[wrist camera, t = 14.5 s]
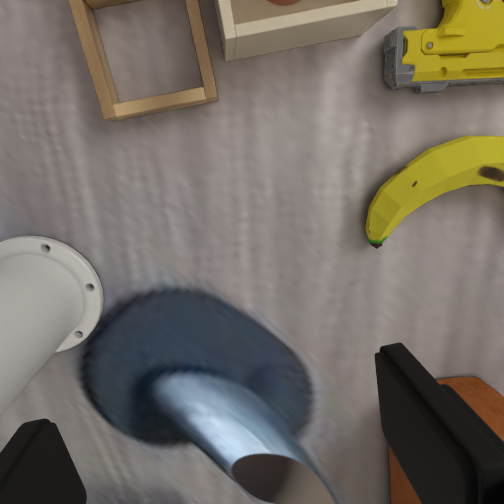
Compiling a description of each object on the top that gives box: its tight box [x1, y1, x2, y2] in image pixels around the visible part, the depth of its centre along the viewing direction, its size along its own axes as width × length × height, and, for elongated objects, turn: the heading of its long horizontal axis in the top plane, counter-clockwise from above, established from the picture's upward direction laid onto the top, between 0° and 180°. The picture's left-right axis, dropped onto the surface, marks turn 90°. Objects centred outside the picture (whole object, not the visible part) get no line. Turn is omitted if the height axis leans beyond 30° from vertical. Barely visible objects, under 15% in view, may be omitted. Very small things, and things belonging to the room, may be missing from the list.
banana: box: [365, 136, 504, 249], centre depth 35 cm, size 5×17×15 cm
